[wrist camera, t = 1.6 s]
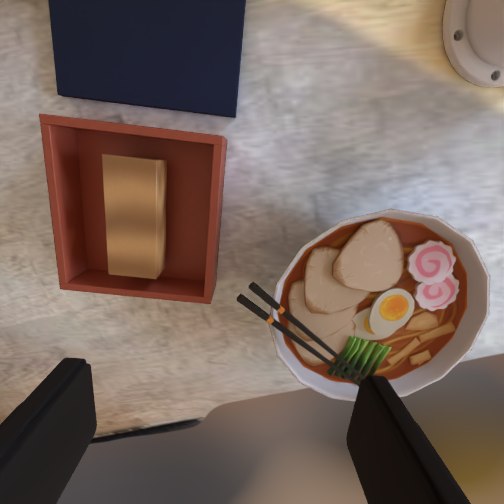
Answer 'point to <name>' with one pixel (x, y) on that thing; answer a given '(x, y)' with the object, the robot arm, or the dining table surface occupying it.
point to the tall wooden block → (135, 214)
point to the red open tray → (93, 207)
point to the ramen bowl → (378, 303)
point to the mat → (150, 52)
